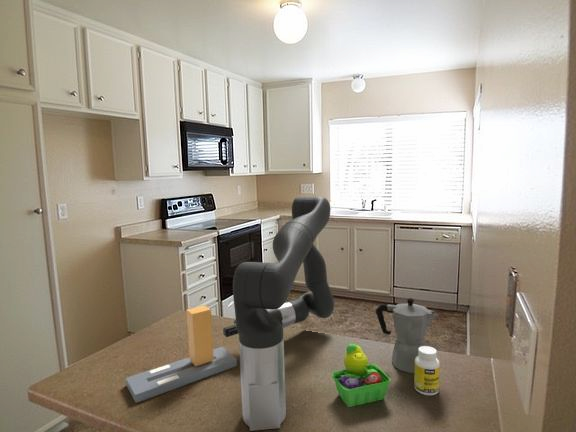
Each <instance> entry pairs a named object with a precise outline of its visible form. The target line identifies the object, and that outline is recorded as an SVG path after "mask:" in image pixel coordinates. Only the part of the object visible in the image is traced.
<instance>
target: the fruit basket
mask: <svg viewBox="0 0 576 432" xmlns="http://www.w3.org/2000/svg"><path fill="white" fill-rule="evenodd" d="M343 362H344V367H345V369H342V370H337V371H334V372H332V373H331V375H332V378H333V380H334V383H335V386H336V390H337V393H338V396H339V397H340V398H341V400H342V401H343V403H344V404H345V405H346V406H347V408H352V407H354V406H360V405H365V404H370V403H374V402H376V401H383V400H385V396H386V393H387V390H388V386H389V385H390V383H391V378H390V377H389V376H388V375H387V374H386V373H385V372H384V370H382V369H381V368H380V367H379V366H378V365H377V364H373V363H372V364H369V360H368V357H367V355H366V353H364V352H363V350H362V348H361V346H359V345H357V344H355V343H354V342H353V343H349V344H348V345H347V346H346V353H345V357H344V361H343Z"/></svg>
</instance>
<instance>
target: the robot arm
mask: <svg viewBox="0 0 576 432" xmlns="http://www.w3.org/2000/svg"><path fill="white" fill-rule="evenodd" d="M291 217H292V219H289V220H288V221H287V222H285V223H284V224H283V225H282V226H281V227H280V228H279V230H278V231H277V233H276V234H275V236H274V238H273V241H272V251H273V254H274V256H275V258H276V259H277V262H261V261H259V262H258V261H244V262H241V263H239V264H238V265H237V266H236V268H235V271H234V275H233V279H232V296H233V305H234V306H233V307H234V316H235V320H233V325H232V324H231V325H229V326H226V327H224V328H222V334H223V335H224V337H226V338H229V337H232V336H235V335H238V340H239V341H238V344H239V347H238V348H239V369H240V371H239V372H240V387H241V388H240V389H241V391H240V392H241V407H242V409H241V410H242V420H243V422H244V423H245V425H247V426H248V427H249V431H263V430H264V431H265V430H273V429H275V430H276V429H280V428H281V427H282V426H281V424H282V423H283V422H284V421H285V419H286V416H287V405H286V403H287V402H286V401H287V400H286V379H285V378H286V377H285V374H286V373H285V347H284V346H285V345H284V344H285V342H284V340H285V339H284V336H285V335H284V329H285V328H288V327H290V326H292V325H295V324H299V323H302V322H303V321H305V320H307V319H308V317H309V315H310V313H311V314H313V315H314V316H317V317H318V318H320V319H328V318H330V317H331V316H332V314H333V313H334V312H333V311H334V309H335V300H334V296H333V294H332V290H331V288H330V286H329V283H328V276H327V266H326V261H325V259H324V256H323V255H322V254H321V252H320V251H319V249H318V248H317V247H316V246H315V244H314V242H315V241H316V239H317V237H318V236H319V235H320V233H321V232H322V231H323V230H324V229H325V228H326V226H327V224H328V222H329V219H330V217H331V205H330V202H329V200H328V199H327V198H326V197H325V196H319V195H316V196H315V195H313V196H297V197H295V198H294V199H293V201H292V204H291ZM302 264H303V273H304V282H305V286H306V288H307V289H308V290H309V291H307V292H305V293H303V294H301V295H300V296H298V297H297V298H296V299H292V300H289V301H287V299H289V295H290V294H291V291H292V289H293V285H294V283H295V279H296V278H297V275H298V272H299V270H300V269H301V266H302ZM223 335H222V336H223Z"/></svg>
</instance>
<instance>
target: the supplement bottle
mask: <svg viewBox="0 0 576 432" xmlns="http://www.w3.org/2000/svg"><path fill="white" fill-rule="evenodd" d="M437 353H438V352H437V349H436V348H434V347H432V346H428V345H425V346H421V347H419V349H418V356H417V357H416V358H415V373H414V379H413V380H414V382H413V386H414V389H415V390H416V391H417V392H418V393H419V394H422V395H425V396H435V395H437V394H438V393H439V392H440V391H439V389H440V371H441V369H440V367H441V365H440V361H439V359H438V358H437V356H438V355H437Z"/></svg>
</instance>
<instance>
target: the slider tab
mask: <svg viewBox="0 0 576 432" xmlns="http://www.w3.org/2000/svg"><path fill="white" fill-rule="evenodd" d="M186 320H187V322H186V323H187V335H188V336H187V337H188V351H189V352H188V353H189V355H188V356H189V357H190V361H191V362H192V363H193V364H194V365H195V366H199V365H201V364H204V363H207V362H210V361H213V360H214V358H213V349H214V345H213V344H214V343H213V342H214V341H213V324H212V309H211V308H209V306H206V305H200V306H196V307H192V308H189V309H188V308H187V309H186Z"/></svg>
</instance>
